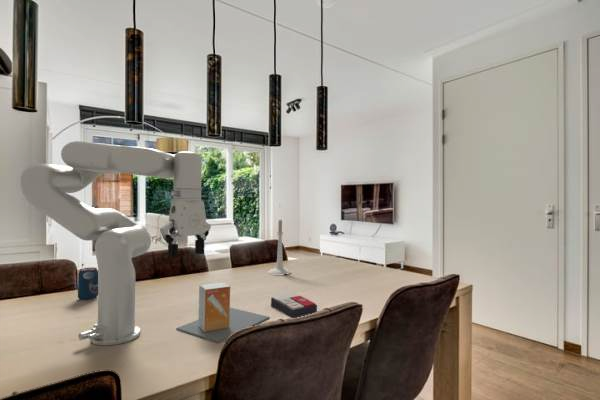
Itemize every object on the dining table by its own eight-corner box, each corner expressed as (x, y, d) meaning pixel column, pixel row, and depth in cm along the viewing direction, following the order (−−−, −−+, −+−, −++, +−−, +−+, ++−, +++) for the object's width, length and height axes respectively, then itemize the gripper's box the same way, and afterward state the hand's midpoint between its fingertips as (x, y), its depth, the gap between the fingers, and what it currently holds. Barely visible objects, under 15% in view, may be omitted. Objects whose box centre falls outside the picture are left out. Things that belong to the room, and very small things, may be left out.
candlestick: (282, 269, 196) (282, 218, 196) (295, 273, 186) (296, 219, 186) (263, 272, 187) (264, 219, 188) (276, 276, 178) (277, 220, 178)
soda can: (94, 300, 132) (94, 270, 132) (74, 301, 130) (75, 270, 130) (100, 295, 138) (101, 266, 138) (82, 296, 137) (82, 267, 137)
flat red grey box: (292, 308, 116) (270, 295, 128) (292, 320, 116) (270, 306, 128) (317, 303, 122) (294, 291, 134) (317, 314, 122) (294, 302, 134)
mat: (218, 343, 94) (218, 341, 94) (176, 329, 104) (176, 328, 104) (269, 318, 115) (269, 316, 115) (230, 308, 124) (230, 307, 124)
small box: (204, 333, 100) (205, 289, 100) (198, 326, 105) (198, 284, 105) (230, 327, 105) (230, 286, 105) (222, 321, 110) (223, 281, 110)
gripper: (170, 195, 86) (169, 261, 86) (218, 196, 101) (218, 253, 101) (152, 195, 90) (151, 259, 90) (201, 196, 105) (200, 251, 105)
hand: (186, 255), depth 96 cm, fingers open, 9 cm apart
